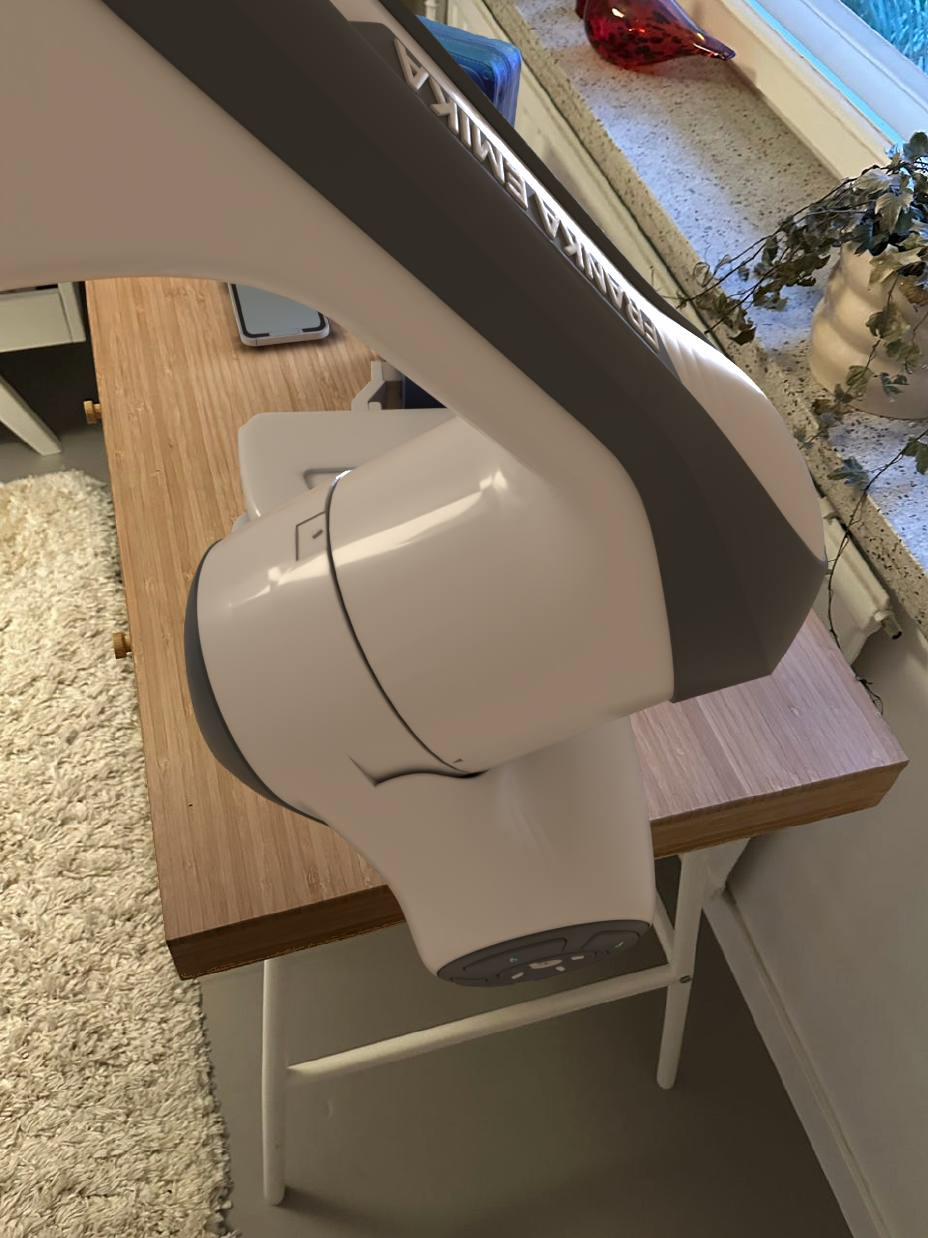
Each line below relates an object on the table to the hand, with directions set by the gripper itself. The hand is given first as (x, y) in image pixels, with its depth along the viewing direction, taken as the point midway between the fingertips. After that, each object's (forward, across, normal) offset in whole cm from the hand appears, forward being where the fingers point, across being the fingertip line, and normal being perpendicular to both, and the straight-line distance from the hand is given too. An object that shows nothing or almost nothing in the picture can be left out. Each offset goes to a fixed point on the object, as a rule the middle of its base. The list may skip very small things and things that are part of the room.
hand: (450, 370), depth 50 cm
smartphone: (+38, -11, -21) cm, 44 cm away
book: (+43, +3, -21) cm, 48 cm away
